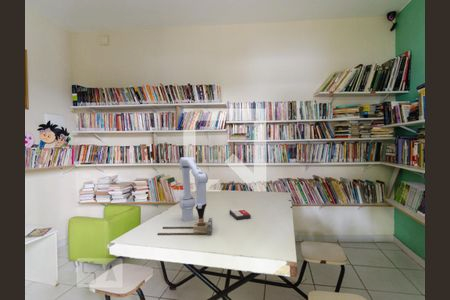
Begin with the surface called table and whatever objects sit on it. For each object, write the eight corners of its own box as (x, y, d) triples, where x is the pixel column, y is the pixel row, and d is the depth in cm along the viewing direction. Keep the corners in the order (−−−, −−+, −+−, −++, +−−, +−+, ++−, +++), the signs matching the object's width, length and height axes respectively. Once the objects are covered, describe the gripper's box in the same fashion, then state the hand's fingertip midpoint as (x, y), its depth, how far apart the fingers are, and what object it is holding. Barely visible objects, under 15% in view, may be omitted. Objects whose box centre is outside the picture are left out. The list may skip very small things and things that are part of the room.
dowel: (198, 220, 122) (198, 207, 122) (203, 220, 122) (203, 207, 122) (198, 222, 119) (198, 208, 119) (203, 222, 119) (203, 208, 119)
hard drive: (236, 215, 143) (229, 208, 157) (236, 221, 143) (229, 214, 157) (251, 214, 147) (242, 207, 161) (250, 220, 147) (242, 212, 161)
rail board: (163, 229, 127) (163, 218, 127) (212, 229, 126) (212, 217, 127) (156, 238, 115) (156, 225, 115) (210, 237, 114) (210, 224, 115)
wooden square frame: (195, 228, 125) (195, 222, 125) (208, 228, 125) (208, 222, 125) (193, 234, 117) (193, 227, 117) (207, 234, 116) (207, 227, 117)
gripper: (196, 191, 128) (196, 213, 128) (192, 197, 113) (192, 221, 113) (207, 191, 128) (207, 213, 128) (205, 197, 113) (205, 221, 113)
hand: (201, 217), depth 121 cm, fingers closed on dowel, 3 cm apart
